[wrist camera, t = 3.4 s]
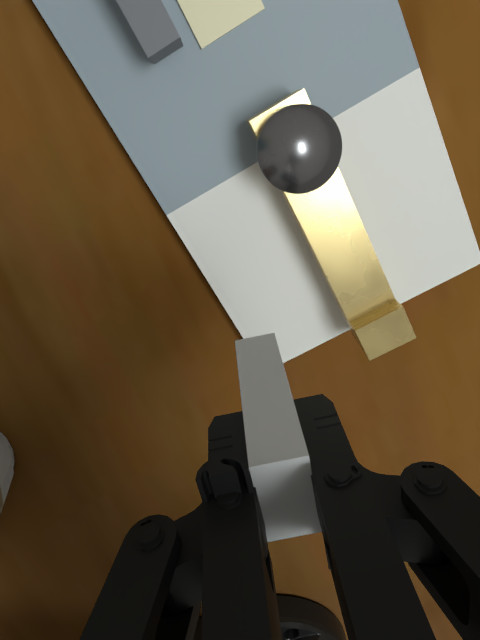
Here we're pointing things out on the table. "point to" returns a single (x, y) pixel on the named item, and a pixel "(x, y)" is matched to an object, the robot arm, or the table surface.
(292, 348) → the door fixture
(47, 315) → the table surface
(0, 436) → the coffee cup
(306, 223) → the latch bar
